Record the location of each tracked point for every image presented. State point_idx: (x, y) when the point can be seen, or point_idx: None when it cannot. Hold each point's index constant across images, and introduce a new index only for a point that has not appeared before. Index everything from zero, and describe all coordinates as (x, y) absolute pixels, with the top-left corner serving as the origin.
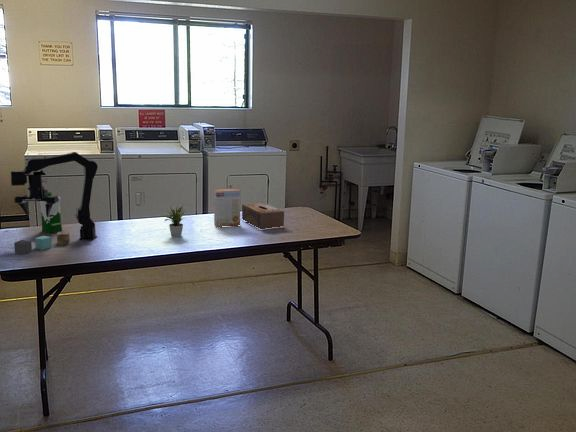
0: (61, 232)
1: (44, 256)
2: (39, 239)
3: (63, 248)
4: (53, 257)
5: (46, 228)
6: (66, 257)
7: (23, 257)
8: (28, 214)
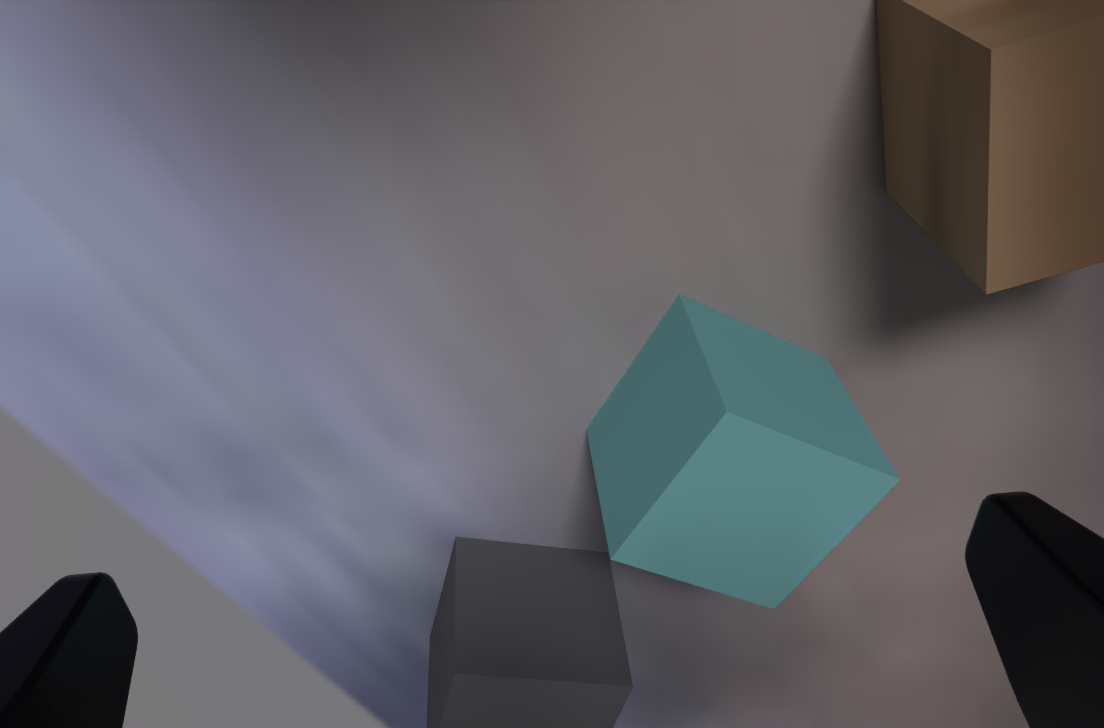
0: (1086, 92)
1: (831, 664)
2: (717, 586)
3: (1019, 382)
4: (937, 670)
5: None
6: None
7: None
8: (88, 698)
